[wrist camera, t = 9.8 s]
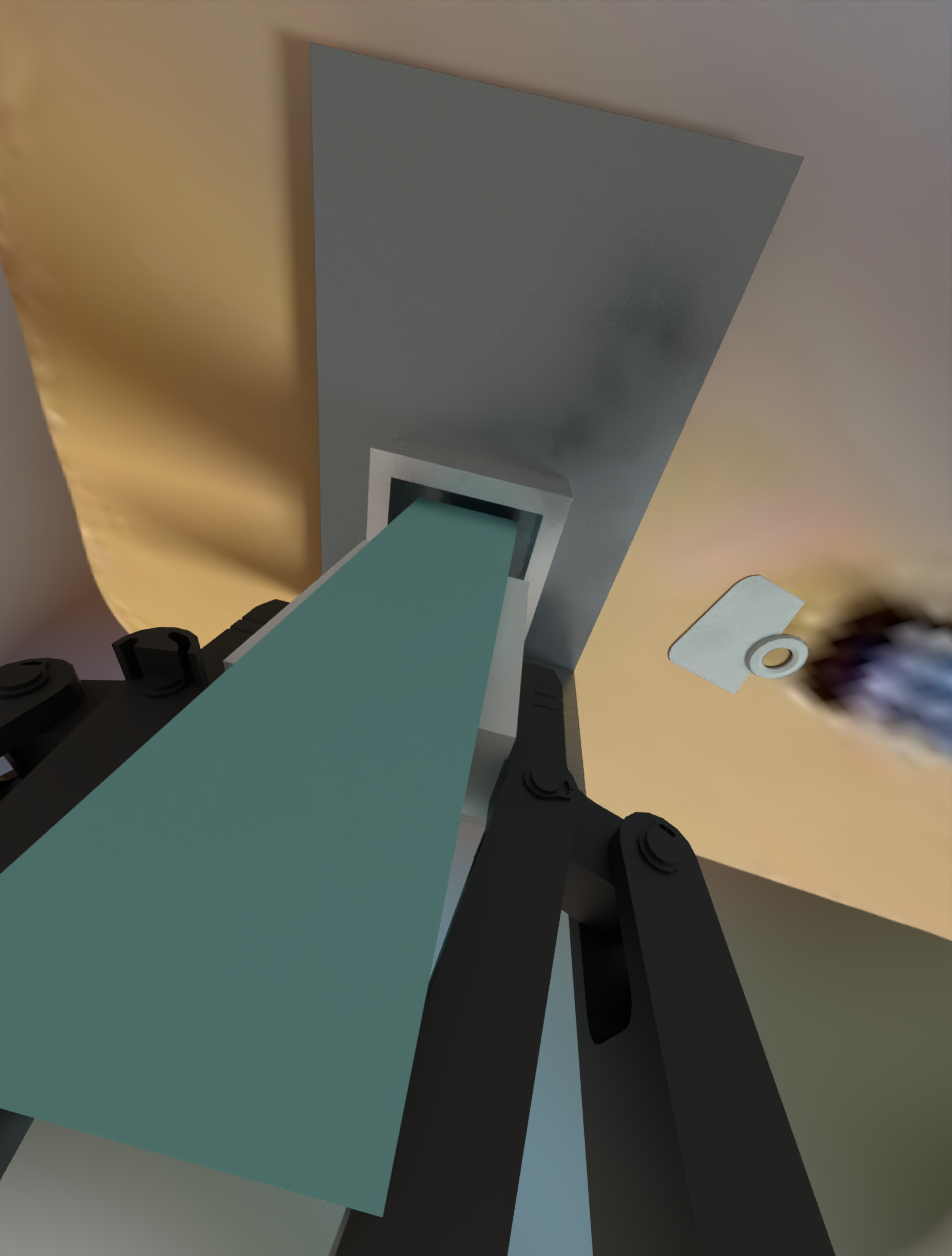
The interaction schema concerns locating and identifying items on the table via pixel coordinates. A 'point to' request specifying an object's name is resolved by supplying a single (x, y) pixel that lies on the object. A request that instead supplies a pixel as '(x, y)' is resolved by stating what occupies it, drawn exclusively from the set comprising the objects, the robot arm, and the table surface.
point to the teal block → (267, 884)
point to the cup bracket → (517, 317)
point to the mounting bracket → (742, 635)
